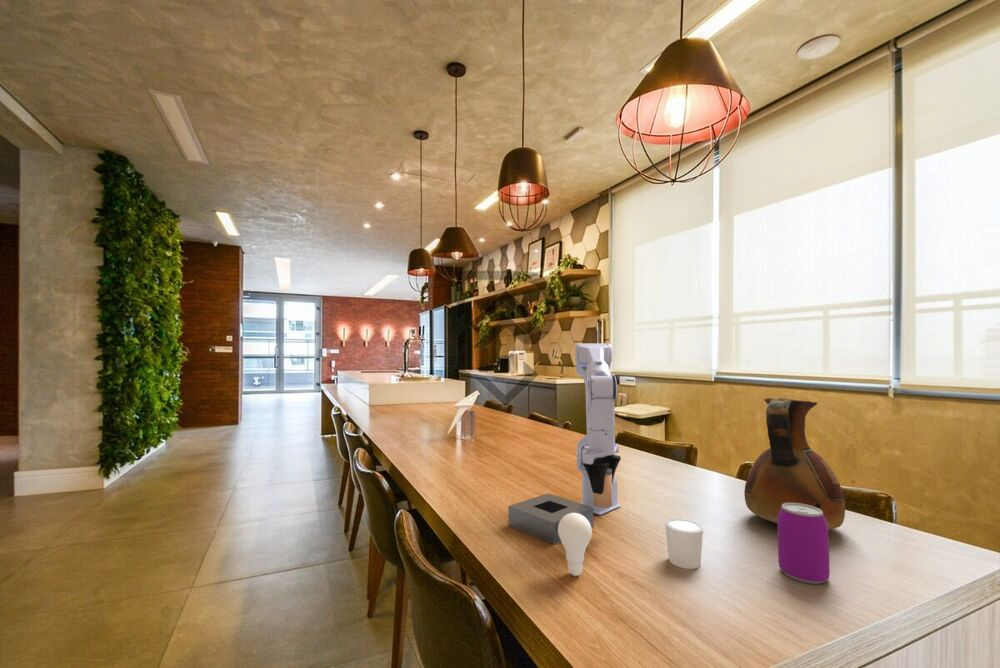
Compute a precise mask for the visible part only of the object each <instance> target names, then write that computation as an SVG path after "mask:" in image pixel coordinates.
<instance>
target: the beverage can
mask: <svg viewBox="0 0 1000 668" xmlns="http://www.w3.org/2000/svg"><path fill="white" fill-rule="evenodd" d="M777 521H778V524H777V548H778V549H777V550H778V553H777V554H778V555H777V557H778V566H779V568H780V570H781V571H782V572H783V573H784V574H785V575H786V576H787V577H789V578H791V579H793V580H795V581H798V582H801V583H804V584H810V585H819V584H823V583H825V582H826V581H829V579H830V574H831V571H830V568H831V567H830V546H829V545H830V543H829V542H830V540H829V539H830V538H829V530H828V524H827V521H826V519H825V517H824V515H823V512H822V510H820V509H819V508H816V507H814V506H810V505H806V504H801V503H784V504H782V507H781V510H780V512H779V514H778V517H777Z"/></svg>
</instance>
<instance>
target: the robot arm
mask: <svg viewBox="0 0 1000 668" xmlns="http://www.w3.org/2000/svg"><path fill="white" fill-rule="evenodd" d="M574 347H575V352H574V353H575V355H574V356H575V358H574V359H575V370H576V375H578V376H580V377H582V379H583V383H584V386H585V416H586V418H585V419H586V434H585V435H584V436H583V437H582V438H581V439H579V440H578V441H577V444H576V469H577V471H578V472H581V502H580V503H581V504H584V505H587V506H590V507H593V514H595V515H598V516H602V515H604V514H606V513H609V512H611V511H613V510H616V509H618V508H620V507H621V504H619V503H618V480H617V478H616V476H615V474H616V470H617V468H618V466H619V463H620V461H621V459H622V458H621V456H620V455H616V454H617V453H620V446H619V445H620V444H619V443H616V438H615V437H616V436H615V434H616V433H615V432H616V431H615V427H616V426H615V425H616V424H615V423H616V422H615V421H616V420H615V417H616V414H615V402H616V401H617V396H618V382H617V378H616V375H615V374H611V373H612V372H611V367H612V365H611V364H612V362H613V351H612V349H613V347H612V344H610V342H606V343H601V342H600V343H599V342H598V343H597V342H596V343H595V342H594V343H589V342H588V343H586V342H585V343H580V342H577V343H576V344H575V346H574ZM608 467H610V468H612V507H609V508H600V507H597V506H595V505H594V493H597V494H602V493H603V489H604V480H605V474H606V471H607V468H608Z"/></svg>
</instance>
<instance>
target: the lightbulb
mask: <svg viewBox="0 0 1000 668" xmlns="http://www.w3.org/2000/svg"><path fill="white" fill-rule="evenodd" d="M558 534H559V537H560V540H561V543H562V545H563V549H564V550H565V558H566V561H567V571H568V573H569V574H570V575H572V576H574V577H577V576H579V575H581V574H582V573H583V563H584V561H585V560H584V559H585V552H586V550H587V547H588V545H589V543H590V542H591V539H592V535H593V529H592V528H591V525H590V523H589V521H588V520H587V519H586V518H585V517H584V516H583V515H581V514H578V513H569V514H567V515H565V516H564V517H563V518H562V519H561V520H560V522H559V525H558Z"/></svg>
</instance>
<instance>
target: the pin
mask: <svg viewBox="0 0 1000 668" xmlns="http://www.w3.org/2000/svg"><path fill="white" fill-rule="evenodd" d="M594 505H595V506H597V507H600V508H609V507H612V468H610V467H608V468H607V471H606V474H605V480H604V489H603V493H602V494H597V493H594Z"/></svg>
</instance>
